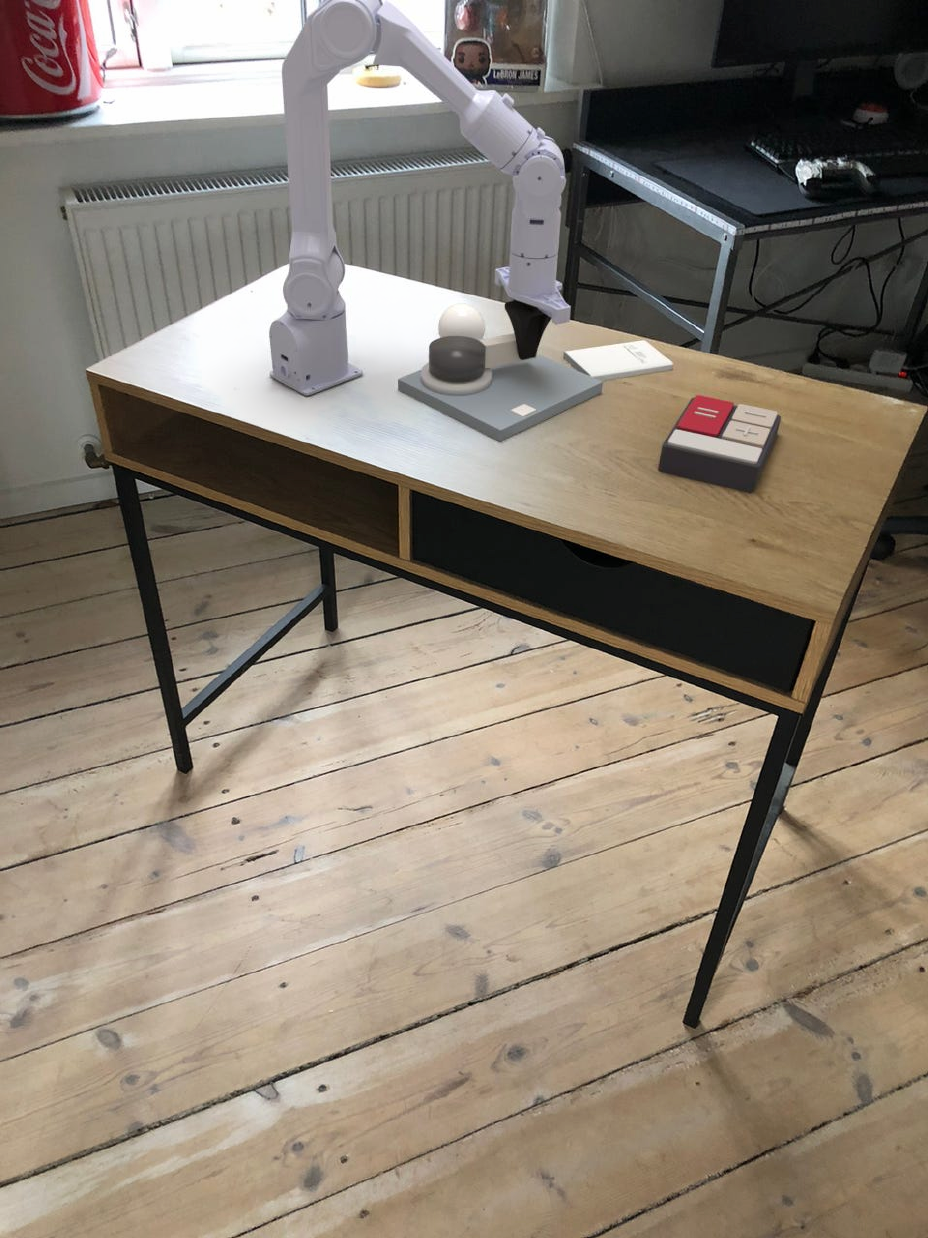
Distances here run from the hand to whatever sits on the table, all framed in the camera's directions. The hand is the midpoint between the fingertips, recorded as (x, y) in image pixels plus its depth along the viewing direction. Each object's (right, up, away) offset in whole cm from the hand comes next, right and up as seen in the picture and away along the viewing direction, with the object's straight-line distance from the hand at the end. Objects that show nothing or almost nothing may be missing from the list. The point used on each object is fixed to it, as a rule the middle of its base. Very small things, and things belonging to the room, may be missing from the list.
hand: (527, 357), depth 131 cm
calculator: (+22, -14, -10) cm, 28 cm away
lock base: (-3, -4, 0) cm, 5 cm away
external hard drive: (+13, +1, +8) cm, 15 cm away
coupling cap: (-6, -1, 0) cm, 6 cm away
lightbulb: (-10, +9, +15) cm, 20 cm away
